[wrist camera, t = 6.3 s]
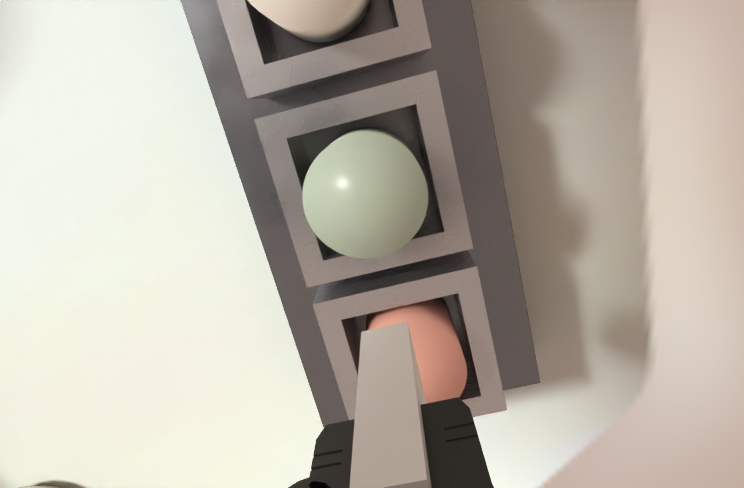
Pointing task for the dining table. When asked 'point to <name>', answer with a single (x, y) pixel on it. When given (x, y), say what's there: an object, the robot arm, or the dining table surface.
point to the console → (430, 148)
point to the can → (39, 486)
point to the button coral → (430, 345)
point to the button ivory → (314, 17)
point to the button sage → (365, 194)
